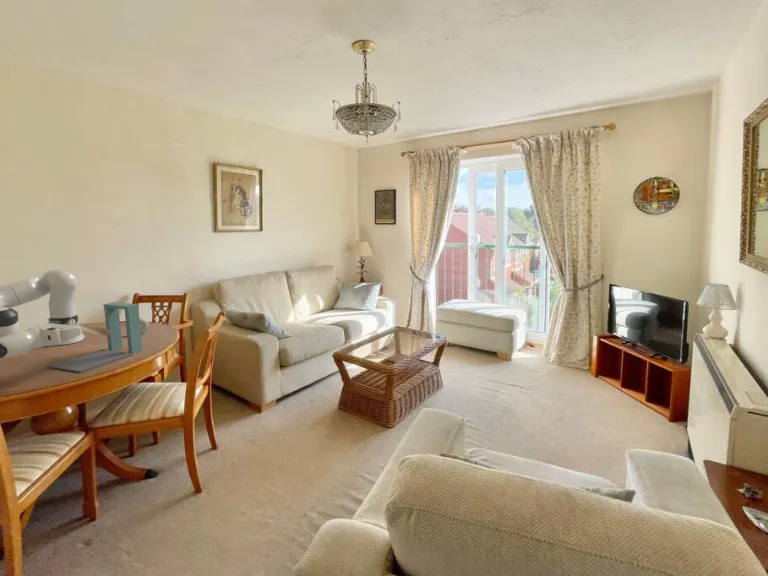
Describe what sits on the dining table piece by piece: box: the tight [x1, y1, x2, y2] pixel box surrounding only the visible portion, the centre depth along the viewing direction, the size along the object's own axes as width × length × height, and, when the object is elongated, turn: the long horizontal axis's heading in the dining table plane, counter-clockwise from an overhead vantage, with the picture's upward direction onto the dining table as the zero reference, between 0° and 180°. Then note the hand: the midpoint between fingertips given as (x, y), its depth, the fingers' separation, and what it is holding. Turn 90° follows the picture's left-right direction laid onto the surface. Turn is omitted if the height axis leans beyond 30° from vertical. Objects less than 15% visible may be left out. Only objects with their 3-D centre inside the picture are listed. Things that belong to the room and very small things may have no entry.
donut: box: [139, 317, 149, 335], centre depth 229 cm, size 10×4×10 cm, turn 129°
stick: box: [66, 322, 111, 337], centre depth 182 cm, size 2×19×3 cm, turn 161°
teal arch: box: [102, 301, 143, 354], centre depth 198 cm, size 16×6×24 cm, turn 72°
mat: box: [48, 349, 134, 374], centre depth 185 cm, size 20×25×1 cm
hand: (76, 324), depth 177 cm, fingers closed on stick, 2 cm apart
